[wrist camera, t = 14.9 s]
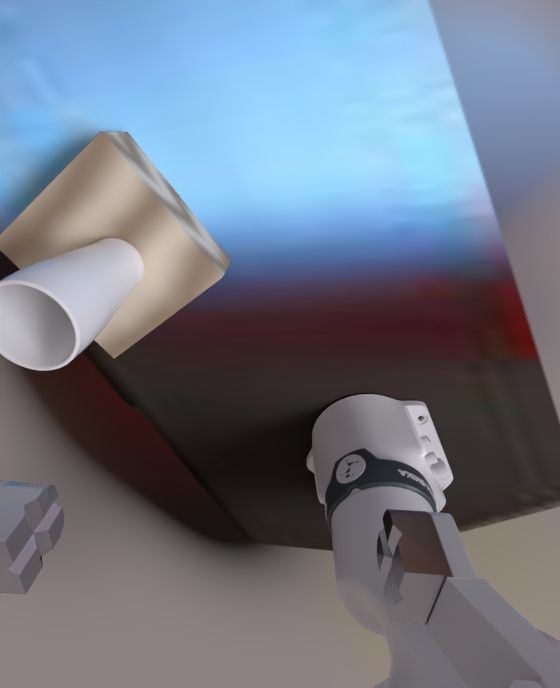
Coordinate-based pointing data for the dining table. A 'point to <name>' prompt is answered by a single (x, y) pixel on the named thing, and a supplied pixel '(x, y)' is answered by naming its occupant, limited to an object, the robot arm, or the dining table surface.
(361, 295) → the dining table surface
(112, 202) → the birch block
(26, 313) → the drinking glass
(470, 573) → the robot arm
